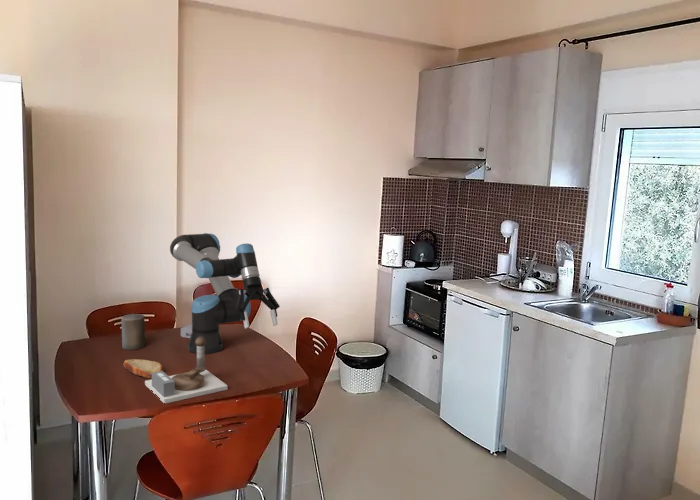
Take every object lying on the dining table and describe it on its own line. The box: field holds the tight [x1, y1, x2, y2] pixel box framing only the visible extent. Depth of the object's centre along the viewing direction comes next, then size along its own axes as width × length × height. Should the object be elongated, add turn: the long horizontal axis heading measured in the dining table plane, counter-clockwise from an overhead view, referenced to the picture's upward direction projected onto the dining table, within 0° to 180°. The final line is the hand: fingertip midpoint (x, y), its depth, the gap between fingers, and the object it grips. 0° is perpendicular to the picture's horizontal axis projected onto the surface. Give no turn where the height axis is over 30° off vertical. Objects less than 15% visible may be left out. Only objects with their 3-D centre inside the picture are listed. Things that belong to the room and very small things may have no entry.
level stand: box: [144, 369, 229, 404], centre depth 224 cm, size 20×24×7 cm
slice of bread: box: [122, 358, 165, 379], centre depth 239 cm, size 18×18×4 cm
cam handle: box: [171, 337, 207, 390], centre depth 224 cm, size 17×12×16 cm
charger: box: [180, 322, 192, 339], centre depth 288 cm, size 5×9×15 cm
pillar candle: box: [120, 313, 146, 351], centre depth 265 cm, size 10×10×15 cm
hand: (261, 326), depth 250 cm, fingers open, 13 cm apart
